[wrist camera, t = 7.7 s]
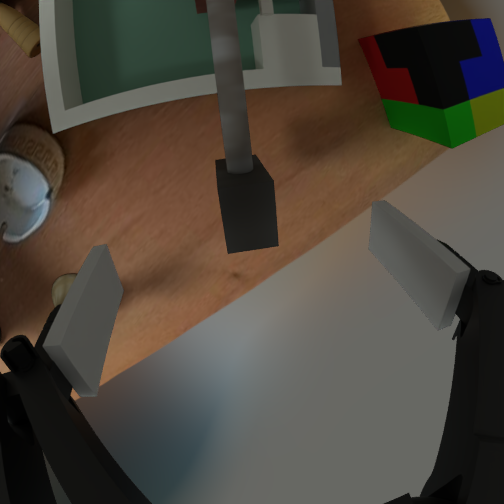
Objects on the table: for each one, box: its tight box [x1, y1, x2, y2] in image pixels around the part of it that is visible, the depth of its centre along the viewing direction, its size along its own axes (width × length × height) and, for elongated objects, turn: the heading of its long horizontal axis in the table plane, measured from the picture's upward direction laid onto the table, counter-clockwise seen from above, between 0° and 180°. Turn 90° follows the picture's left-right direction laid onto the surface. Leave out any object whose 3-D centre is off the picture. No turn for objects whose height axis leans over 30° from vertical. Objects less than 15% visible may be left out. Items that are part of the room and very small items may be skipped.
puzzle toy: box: [358, 18, 504, 148], centre depth 21 cm, size 10×10×10 cm
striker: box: [195, 0, 279, 254], centre depth 15 cm, size 3×30×11 cm, turn 6°
